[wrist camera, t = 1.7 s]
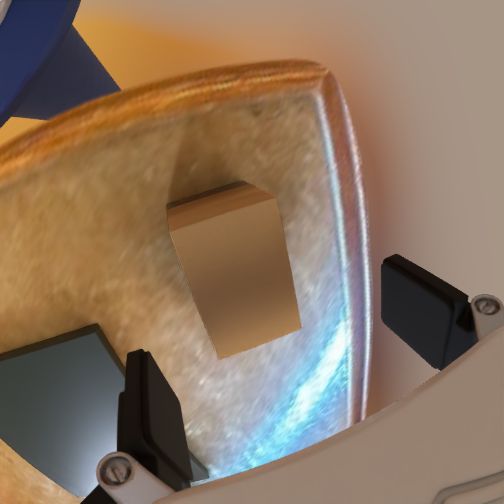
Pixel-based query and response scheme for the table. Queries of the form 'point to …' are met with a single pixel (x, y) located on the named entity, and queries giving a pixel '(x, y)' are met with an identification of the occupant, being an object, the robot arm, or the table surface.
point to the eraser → (236, 265)
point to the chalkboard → (65, 406)
